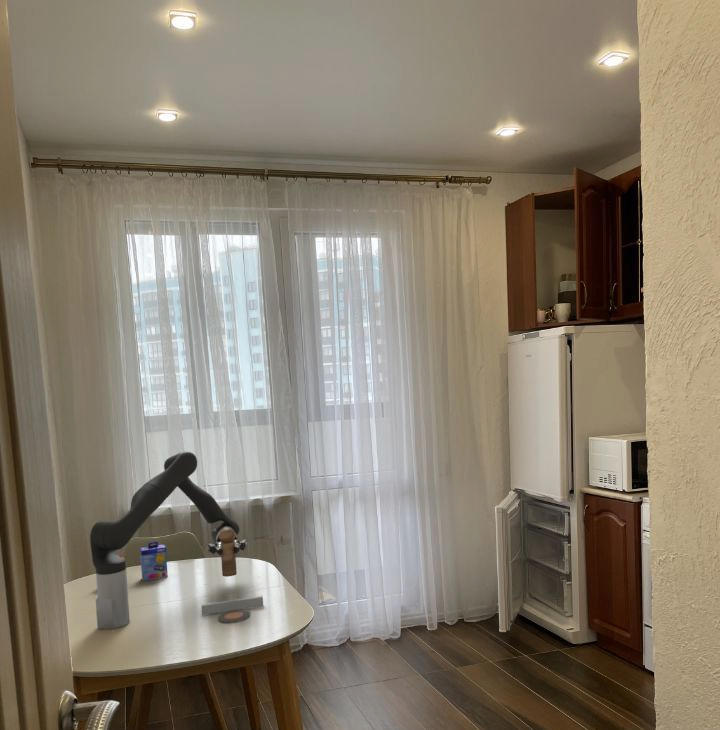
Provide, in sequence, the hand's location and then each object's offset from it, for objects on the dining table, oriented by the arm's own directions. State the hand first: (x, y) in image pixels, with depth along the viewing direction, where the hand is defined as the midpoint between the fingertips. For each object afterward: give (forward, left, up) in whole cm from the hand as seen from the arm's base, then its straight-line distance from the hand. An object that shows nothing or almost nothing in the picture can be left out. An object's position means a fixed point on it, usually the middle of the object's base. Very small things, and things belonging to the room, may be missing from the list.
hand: (228, 551), depth 227 cm
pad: (-11, -6, -18) cm, 22 cm away
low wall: (-4, -2, -18) cm, 19 cm away
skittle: (+2, +1, -9) cm, 9 cm away
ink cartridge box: (+29, +50, -19) cm, 60 cm away
